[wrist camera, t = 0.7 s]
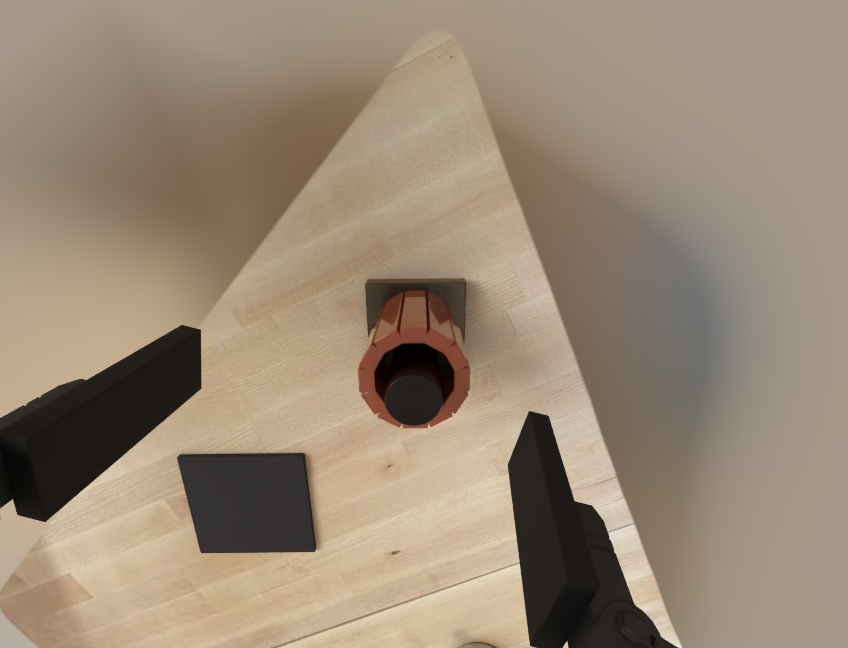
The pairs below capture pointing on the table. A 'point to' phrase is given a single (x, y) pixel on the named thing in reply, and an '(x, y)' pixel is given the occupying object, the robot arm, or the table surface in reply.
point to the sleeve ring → (415, 323)
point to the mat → (249, 502)
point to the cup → (476, 645)
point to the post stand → (414, 350)
